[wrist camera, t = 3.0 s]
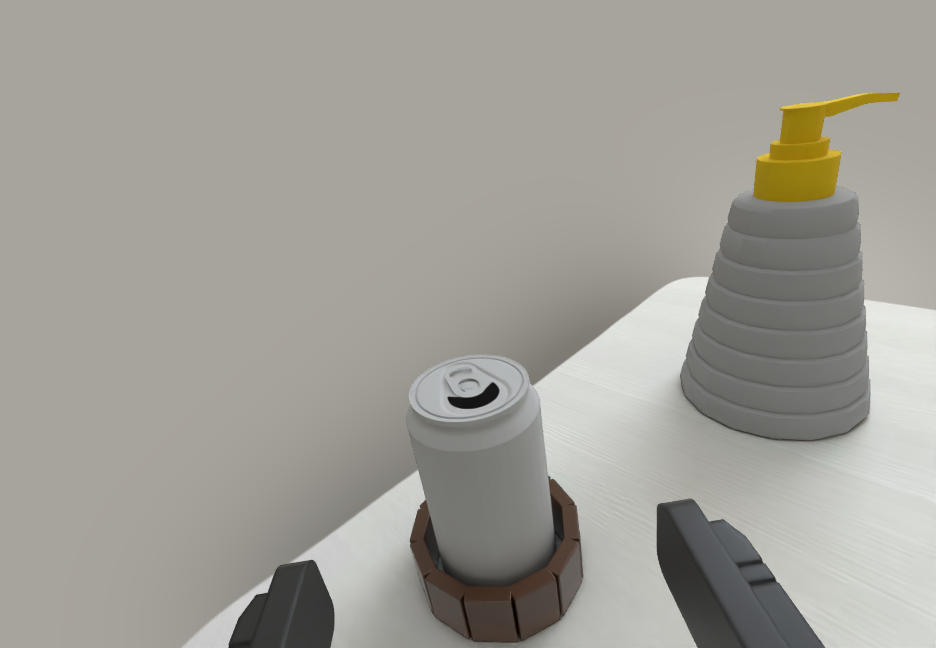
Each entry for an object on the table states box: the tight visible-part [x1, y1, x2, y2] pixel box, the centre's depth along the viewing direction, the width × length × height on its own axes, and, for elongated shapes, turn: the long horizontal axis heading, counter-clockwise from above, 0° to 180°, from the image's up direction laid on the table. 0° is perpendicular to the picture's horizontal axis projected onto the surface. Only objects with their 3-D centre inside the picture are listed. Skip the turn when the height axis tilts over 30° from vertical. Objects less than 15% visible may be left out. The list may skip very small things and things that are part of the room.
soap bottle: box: [680, 93, 900, 440], centre depth 33 cm, size 12×12×20 cm
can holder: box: [410, 476, 583, 642], centre depth 27 cm, size 9×9×3 cm
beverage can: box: [406, 354, 556, 586], centre depth 25 cm, size 6×6×12 cm
